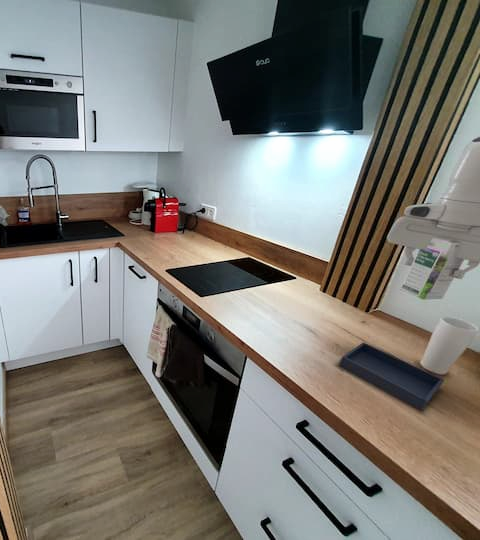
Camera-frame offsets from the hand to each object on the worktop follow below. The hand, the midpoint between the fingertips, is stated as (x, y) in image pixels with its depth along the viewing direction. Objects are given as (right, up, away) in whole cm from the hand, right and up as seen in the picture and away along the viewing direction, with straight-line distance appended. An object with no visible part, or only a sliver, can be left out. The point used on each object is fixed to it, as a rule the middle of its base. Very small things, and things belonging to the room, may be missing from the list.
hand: (431, 271), depth 68 cm
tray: (-3, -28, +8) cm, 30 cm away
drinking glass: (+13, -27, +11) cm, 32 cm away
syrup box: (0, -6, +3) cm, 7 cm away
